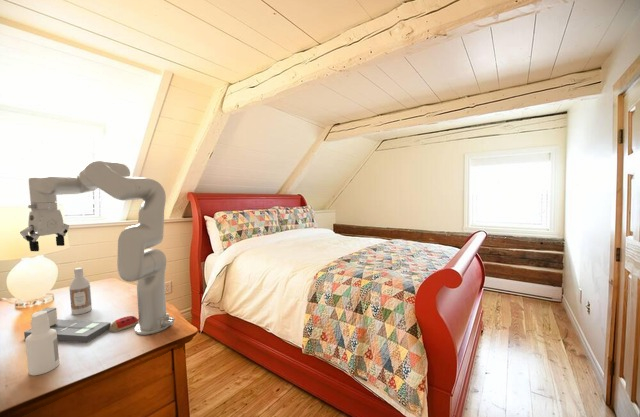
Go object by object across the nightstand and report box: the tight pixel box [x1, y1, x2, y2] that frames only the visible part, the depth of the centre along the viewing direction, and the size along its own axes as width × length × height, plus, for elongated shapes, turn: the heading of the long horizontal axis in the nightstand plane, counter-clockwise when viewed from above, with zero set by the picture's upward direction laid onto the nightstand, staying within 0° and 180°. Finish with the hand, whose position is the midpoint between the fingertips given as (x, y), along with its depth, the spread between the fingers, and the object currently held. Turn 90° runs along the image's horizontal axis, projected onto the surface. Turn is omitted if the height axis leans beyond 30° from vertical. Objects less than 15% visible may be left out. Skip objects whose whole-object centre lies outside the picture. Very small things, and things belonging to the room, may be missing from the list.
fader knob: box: [36, 306, 58, 326], centre depth 106 cm, size 4×4×6 cm
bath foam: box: [69, 267, 93, 315], centre depth 123 cm, size 7×7×20 cm
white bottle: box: [24, 310, 60, 376], centre depth 85 cm, size 7×7×18 cm
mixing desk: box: [23, 318, 112, 344], centre depth 106 cm, size 26×10×3 cm, turn 84°
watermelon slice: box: [108, 315, 139, 333], centre depth 111 cm, size 7×10×4 cm
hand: (48, 248), depth 113 cm, fingers open, 9 cm apart
